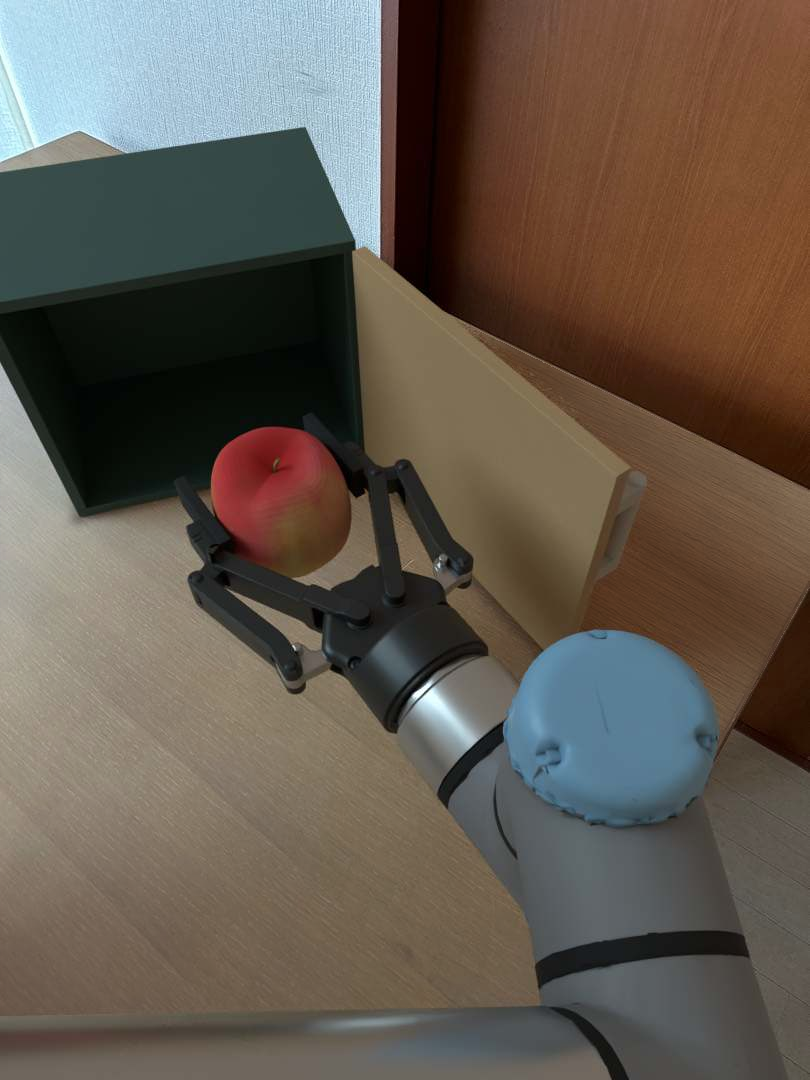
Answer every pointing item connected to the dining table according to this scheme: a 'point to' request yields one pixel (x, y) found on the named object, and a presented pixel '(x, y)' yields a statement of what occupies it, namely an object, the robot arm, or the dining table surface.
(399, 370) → the cupboard door
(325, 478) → the apple
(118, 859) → the dining table surface
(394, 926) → the dining table surface
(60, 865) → the dining table surface
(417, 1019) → the robot arm
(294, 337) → the cupboard
